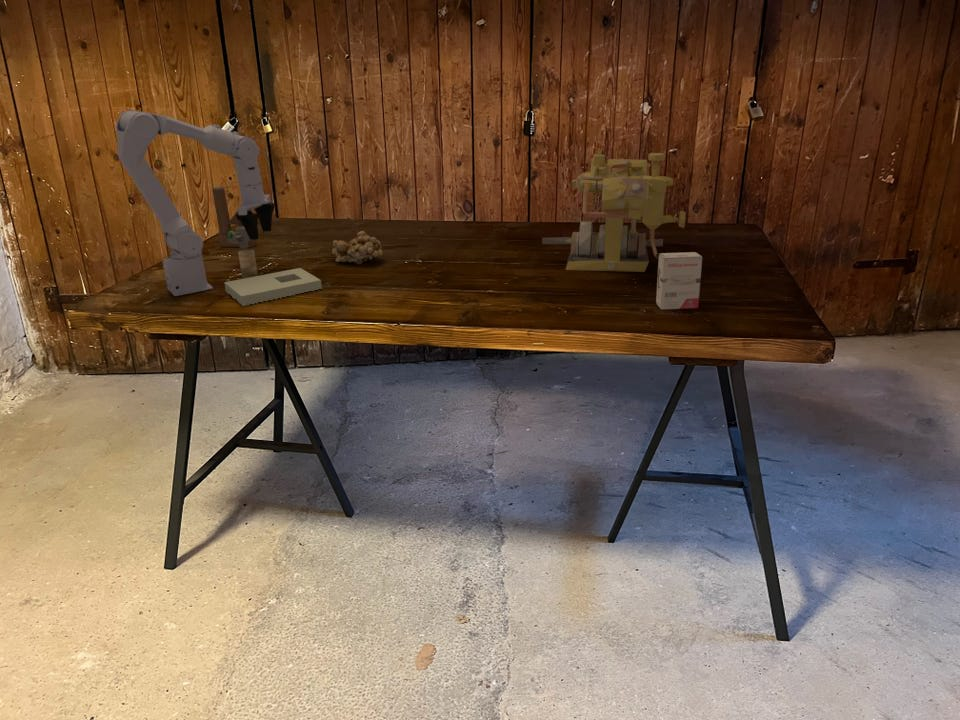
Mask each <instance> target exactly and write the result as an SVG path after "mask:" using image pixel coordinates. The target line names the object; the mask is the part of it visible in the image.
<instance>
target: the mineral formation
mask: <svg viewBox="0 0 960 720" xmlns="http://www.w3.org/2000/svg"><path fill="white" fill-rule="evenodd" d="M356 234H357V235H356V237H355V238H353V239H351V240H350V241H349V242H345V241H344V240H341V239H340V240H336V239H334V240H333V241H332V243H333V244H332V245H333V246H334V248H332V250H331V251H332V254H333V255H334V256H336V258H335V262H336V263H345V262H349V263H354V264H357V265H358V264H359V265H362V264H363V262H366V261H371V260H372V259H373V258H377V257H378V258H381V257H382V256H383V254H384V253H383V250H382V244H381V241H380V240H378V239H377V238H376V237H375V236H371V237H370V235H368V234H367V232H365V231H364V230H362V231H361V230H360V231H359V232H358V231H357V233H356Z"/></svg>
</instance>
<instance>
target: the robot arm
mask: <svg viewBox="0 0 960 720" xmlns="http://www.w3.org/2000/svg"><path fill="white" fill-rule="evenodd" d="M114 129H115V132H116V138H117V139H116V140H117V142H116V143H117V157H118V160H119V161H120V162H121V164H122V166H123V167H124V169H125V171H126V172H127V174H128V175H129V176H130V178H131V180H132V181H133V183H134V184H135V186H136V187H137V189H138V191H139V192H140V194H141V195H142V197H143V198H144V200H145V201H146V203H147V204H148V206H149V207H150V209H151V211H152V212H153V213H154V216H155V217H156V219H157V220H158V222H159V223H160V229H161V230H162V232H163V235H164V240H165V244H166V245H167V247H168V248H170V249H171V252H170V257H168V258H164V259H162V266H163V271H164V277H165V281H166V285H167V286H166V287H167V290H168V291H169V292H170V293H171V295H173V297H178V296H184V295H187V294H193V293H200V292H205V291H209V290H213V289H214V288H213V286H212V285H211V284H210V283H208V278H207V273H206V270H205V269H206V268H205V263H204V258H203V254H202V250H203V247H204V241H203V238H202V237H201V234H199V233H197V232H195V231H194V230H193V229H192V228H191V226H190V225H189V223H187V221H186V220H185V219H184V218H183V217H182V215H181V214H180V213H179V211H178V209H177V208H176V206H175V205H174V203H173V202H172V200H171V198H170V196H169V195H168V194H167V191H166V190H165V189H164V187H163V185H162V184H161V182H160V180H159V179H158V177H157V176H156V174H155V173H154V171H153V169H152V167H151V166H150V164H149V163H148V161H147V159H146V158H145V157H146V155H147V151H148V150H149V149H148V147H150V145H151V144H152V142H153V141H154V139H156V137H157V136H158V135H159V136H163V135H167V134H169V133H170V134H173V135H177V136H180V137H184V138H187V139H188V138H189V139H191V140H194V141H199V143H200V145H202V148H204V149H206V150H208V151H213V152H216V153H219V154H223V155H225V156H230V157H231V158H232V159H233V162H234V167H235V173H236V176H237V181H238V188H239V190H240V196H241V202H240V205H239V206H238V207H236V209H237V211H238V213H237V214H236V218H237V219H238V220H239V221H240V222H241V224H242V225H243V226H244V228H245V230H246V232H247V234H248V236H249V238H250V240H256V241H257V240H259V224H258V221H259V223H260V226H261V227H260V228H261V229H262V232H272V226H273V225H272V222H273V213H274V209H275V206H276V205H275V203H274V202H272V200H271V195H270V194H268V193H267V194H265V192H264V188H263V181H262V177H261V172H260V167H259V163H258V156H259V154H260V146H258V145H257V143H256V141H255V140H254V138H252V137H249V136H244V135H240V133H239V132H238V131H233V132H231V131H229V130H226V129H223V128H221V125H218V124H213V125H211V124H210V125H207V126H204V127H200V126H197V125H193V124H190V123H189V122H185V121H182V120H179V119H176V118H173V117H171V116H168V115H162V114H156V113H155V114H154V113H149V112H147V111H137V110H132V109H130V110H125V111H123V112H122V113H121V114H120V115H119V117H118V119H117V122H116V124H115V128H114ZM251 211H252V212H251ZM253 211H255V213H254V212H253Z"/></svg>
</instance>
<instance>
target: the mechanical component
mask: <svg viewBox="0 0 960 720" xmlns="http://www.w3.org/2000/svg"><path fill="white" fill-rule="evenodd" d="M226 236H227V238H228V242H229V243H232V244H240V247H239V248H240V249H241V251H242V250H249V248H250V247H249V245H248V241H250V238H249V236H248V234H247V232H246V230H245V228H244V226H242V227H239V226H238V227H236V228H235V231H233V230H232V231H229V232H228V233H227V234H226ZM236 238H238V240H237V241H236Z"/></svg>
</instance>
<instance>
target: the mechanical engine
mask: <svg viewBox="0 0 960 720" xmlns="http://www.w3.org/2000/svg"><path fill="white" fill-rule="evenodd" d="M647 157H648V160H647V159H633V158H632V159H630V158H629V159H626V158H624V157H621V158H609V159H607V163H606V155H605V154H602V149H599V148H597V153H596V154H593V157H592V160H591V163H590V172H589V171H587V172H586V171H585V172H581V173H580V174H579V176H578V177H577V179H572V186H574V187H576V189H577V191H579V192H580V193H581V192H583V193H582V211H581V212H582V214H583V215H584V216H585V217H587V218H605V223H604V224H600V226H599V232H597V231H596V232H595V231H594V232H593V221H580V223H579V224H580V225H579V231H573V232H572V234H571V236H561V237H559V236H558V237H556V236H555V237H542V238H541V241H542V242H541V243H542V245H570V253H569V255H568V258H567V262H566V266H565V271H586V272H587V271H596V272H598V271H599V272H600V271H601V272H629V273H630V272H632V273H633V272H637V273H639V272H640V273H644V272H646V269H647V267H648V265H649V263H650V260H649V255H648V250H647V248H646V247H651V249H652V252H653V255H654V258H656V260H659V254H658V251H657V248H656V247H663V246H664V238H655V231H656V230H657V228H659V227H660V226H661V225H663V224H667V223H674V222H678V224H677V225H678V227H680V228H682V229H685V226H686V225H685V224H686V211H685V210H684V211H683V210H679V213H678V216H677V217H676V216H675V217H674V216H673V215H672V214H670V215H669V214H667V215H665V214H664V210H665V209H664V207H665V198H666V193H667V187H674V181H675V180H674V178H672V177H669V176H665V175H664V176H662V175H660V171H661V167H660V163H659V162H661V161H665V160H666V154H665V153H662V152H655V153H654V152H652V153H651V152H650V153H648V156H647ZM648 161H651V163H648ZM651 165H652V166H651ZM650 167H651V175H650V172H649V170H648V168H650ZM589 193H602V195H601V211H588V199H589V198H588V196H589ZM641 217H642V218H641ZM625 219H631V222H630V228H629V226H628V225H624V220H625ZM638 220H642V221H641V222H642V223H643V225H644V226H645V227H646V228H647V229H648V230H649V239H646V238H647V233H645V232H644V233H640V232H639V231H637V229H636V228H637V221H638ZM628 229H629V230H628Z"/></svg>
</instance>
